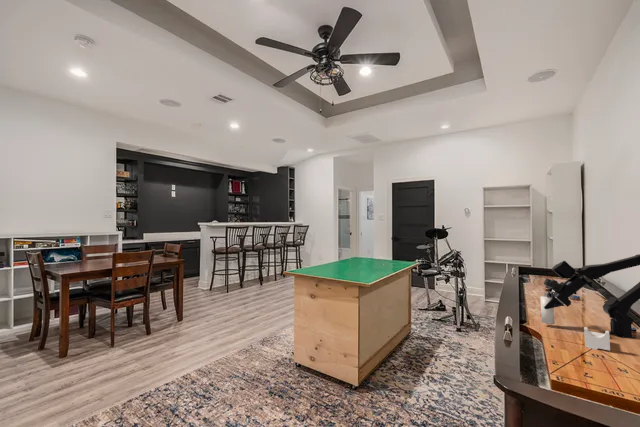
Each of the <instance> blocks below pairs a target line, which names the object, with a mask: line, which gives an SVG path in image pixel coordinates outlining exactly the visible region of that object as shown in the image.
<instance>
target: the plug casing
mask: <svg viewBox="0 0 640 427" xmlns="http://www.w3.org/2000/svg"><path fill="white" fill-rule="evenodd" d="M543 294H544V295H541V296H539V297H540V316H541V318H540V320H541V323H543V324H547V325H554V324H555V323H556V322H555V320H556V319H555V307H554V308H550V309H545V308H544V307H545V305H546V304H547V303H548V302H549V301H550V300H551V297H549V293H548V292H544V293H543Z"/></svg>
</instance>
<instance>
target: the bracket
mask: <svg viewBox="0 0 640 427" xmlns="http://www.w3.org/2000/svg"><path fill="white" fill-rule="evenodd" d="M609 331H610V330H605V331H604V332H605V333H601V332H595V331H590V330H589V328H588V327H587V326H584V327H583V334H584V336H583V337H584V348H586V347H588V348H587V349H591V348H592V349H591V350H597V351H598V349H599V350H600V349H601V350H605V351H611V343H610V342H611V341H610V340H611V339H610V338H611V337H610V333H609Z"/></svg>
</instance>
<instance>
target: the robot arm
mask: <svg viewBox="0 0 640 427" xmlns="http://www.w3.org/2000/svg"><path fill="white" fill-rule="evenodd" d="M638 266H640V254H636V255H634V256H630V257H626V258H622V259H618V260H614V261H610V262H607V263H600V264H599V263H598V264H588V265H583V266H581V267H578V268H577V267H576V268H574V267H572V266H571V265H570V264H569V263H568V262H567V261H566V260H562V261H560V262H558V264H557V263H556V264H555V265H554V266H553V267H552V268H551V270H552V271H553V272H554V273H555V274H556V275H558V276H559V277H560V278H561V279H566V281H564V282H560V283H559V282H558V281H557V280H556V279H550V278H548V277H545V280H544V282H543V285H545V286H547V287H548V288H547V293H549V297H551V300H550V301H549V302H548V303H547V304H546V305H545V307H544V308H545V309H550V308H554V309H555V308H559V307H565V306H566V307H569V306H571V305H572V301H571V300H570V298H571V296H573V295H577V294H578V293H577V292H579V291H580V290H581V289H582V288H584V287H585V286H587V287H589V288H593V281H594V280H598V279H600V278H602V277H605V276H607V275H608V274H610V273H613V272H614V273H615V272H618V271H622V270H625V269H626V270H627V269H630V268H633V267H638ZM577 274H578V275H577ZM579 275H580V276H579ZM586 278H587V279H590V280H587V279H586ZM591 280H593V281H591ZM638 301H640V281H639V282H637V283H636V284H635V285H634V286H633V287H631V288H630V289H628V290H627V291H626V292H625V293H624V294H622V295H621V296H619V297H617V298H616V297H613V296H610V297H609V298H608V299H607V300H606V301H603V305H602V310H603V311H604V312H605V314H607V315H608V317H609V320H610V322H609V324H610V326H609V327H610V330H608V331H609V334H610V335H614V336H616V337H619V338H627V339H628V338H629V339H630V338H631V339H632V338H634V339H636V338H637V336H635V335H633V328H632V325H633V323H634V321H635V320H634V319H633V318H632V317H631V316H630V315H628V314H629V312H630V310H631V309H632V306H633V305H634V304H636V303H637V302H638Z"/></svg>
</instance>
